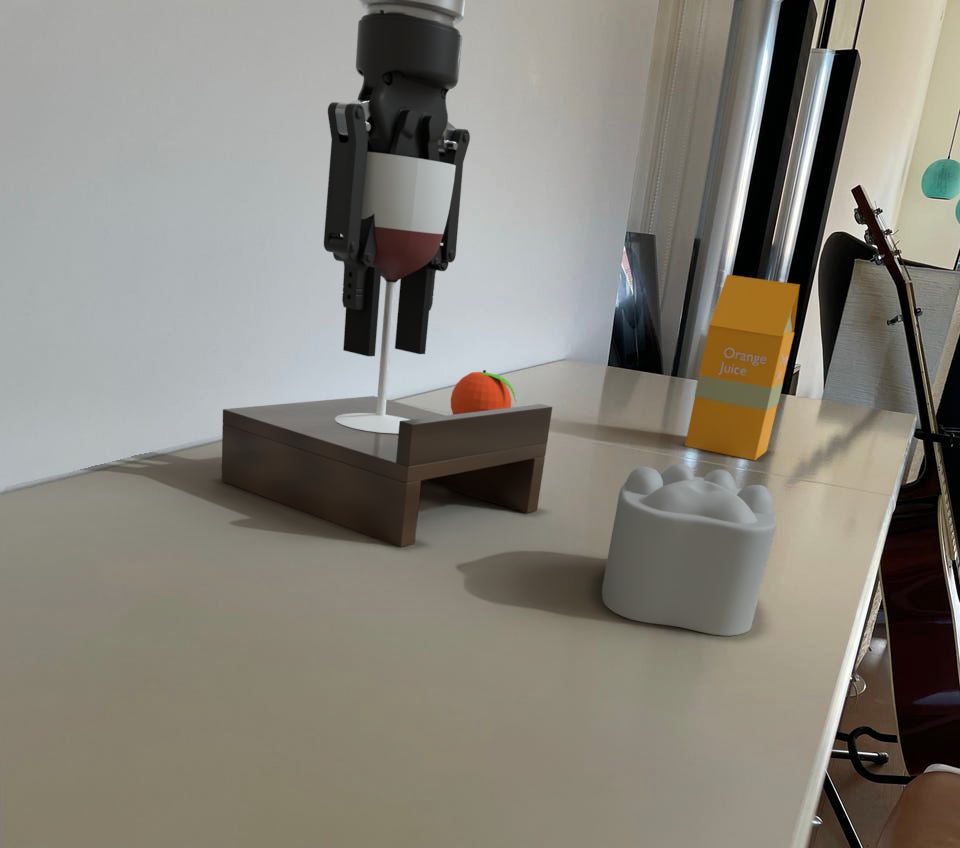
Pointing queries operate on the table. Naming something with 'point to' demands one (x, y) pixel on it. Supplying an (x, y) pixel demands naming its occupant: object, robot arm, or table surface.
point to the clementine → (480, 393)
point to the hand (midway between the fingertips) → (385, 351)
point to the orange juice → (743, 367)
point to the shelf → (383, 460)
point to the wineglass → (401, 244)
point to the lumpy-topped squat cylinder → (689, 550)
